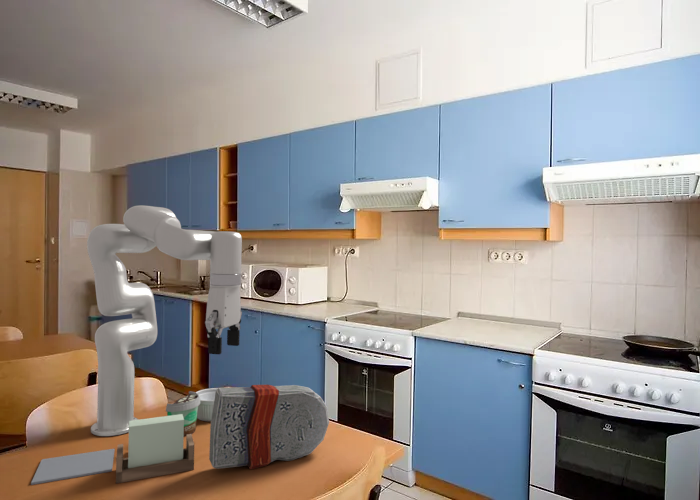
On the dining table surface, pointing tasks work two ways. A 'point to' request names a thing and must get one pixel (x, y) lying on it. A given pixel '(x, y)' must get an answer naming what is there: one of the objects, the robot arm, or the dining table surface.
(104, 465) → the mat
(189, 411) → the food container
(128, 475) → the rack
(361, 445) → the dining table surface
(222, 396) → the decorative stone tablet
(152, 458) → the sheet
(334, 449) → the dining table surface
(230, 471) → the dining table surface
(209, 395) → the ramekin
